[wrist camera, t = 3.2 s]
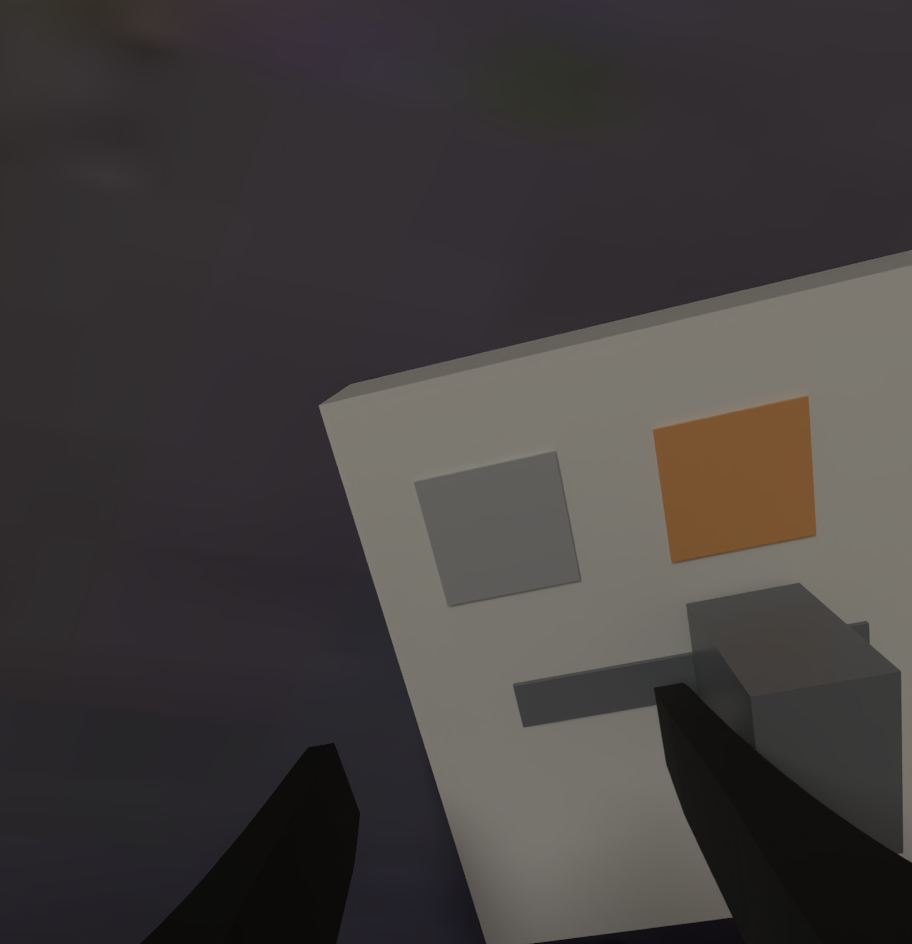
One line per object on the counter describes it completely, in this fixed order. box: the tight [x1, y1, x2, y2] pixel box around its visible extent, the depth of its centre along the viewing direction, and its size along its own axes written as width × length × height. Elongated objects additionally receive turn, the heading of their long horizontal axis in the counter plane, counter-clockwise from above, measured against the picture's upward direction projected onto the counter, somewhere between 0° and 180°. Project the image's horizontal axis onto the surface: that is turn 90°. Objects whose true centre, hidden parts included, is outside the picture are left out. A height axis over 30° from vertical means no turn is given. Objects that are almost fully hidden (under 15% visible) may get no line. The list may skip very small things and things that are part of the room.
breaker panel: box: [319, 250, 912, 944], centre depth 14 cm, size 16×14×3 cm
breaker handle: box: [686, 583, 903, 854], centre depth 11 cm, size 4×2×3 cm, turn 13°
